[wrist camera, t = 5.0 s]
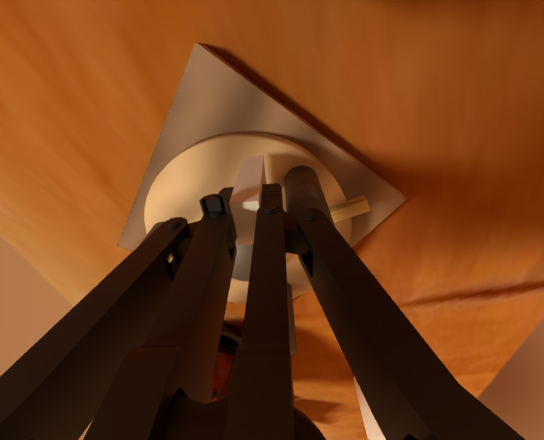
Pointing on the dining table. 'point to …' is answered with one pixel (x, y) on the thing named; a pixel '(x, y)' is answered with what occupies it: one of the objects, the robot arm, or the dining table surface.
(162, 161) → the stand
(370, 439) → the can
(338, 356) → the dining table surface
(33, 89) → the dining table surface
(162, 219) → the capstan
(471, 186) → the dining table surface
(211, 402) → the robot arm
